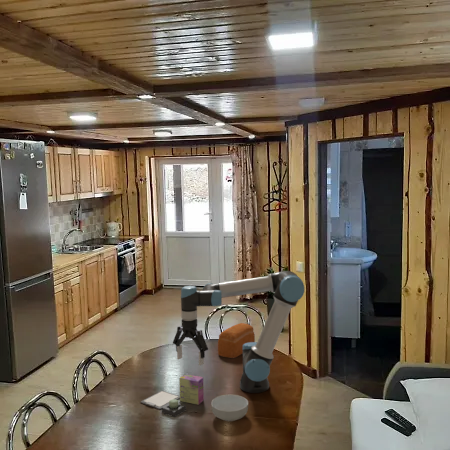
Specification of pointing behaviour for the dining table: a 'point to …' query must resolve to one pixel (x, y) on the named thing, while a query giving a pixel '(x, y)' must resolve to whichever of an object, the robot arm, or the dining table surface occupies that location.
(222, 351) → the bread
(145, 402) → the clipboard
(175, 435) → the dining table surface
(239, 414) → the cereal bowl
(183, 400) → the box
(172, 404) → the button
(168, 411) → the button housing
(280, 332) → the robot arm
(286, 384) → the dining table surface
